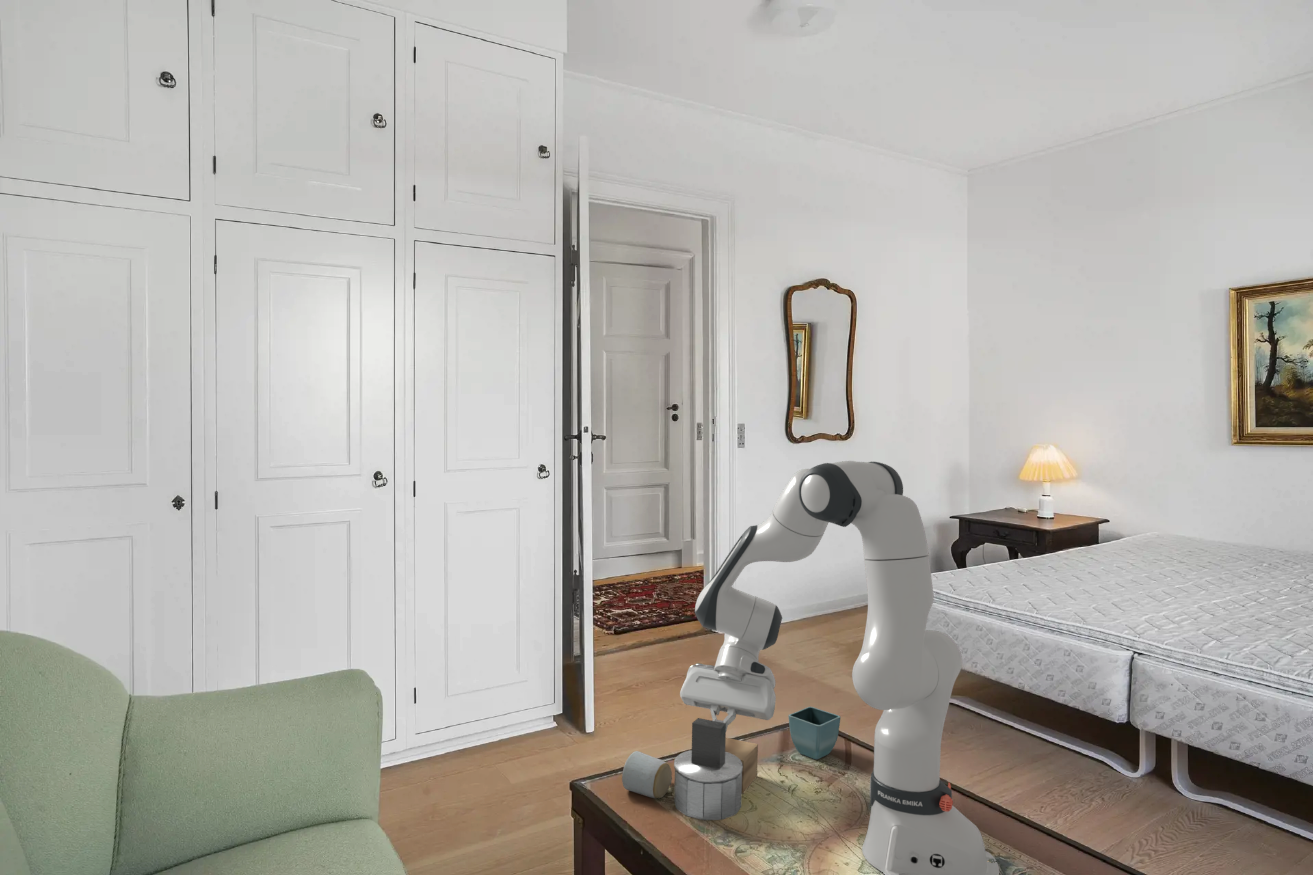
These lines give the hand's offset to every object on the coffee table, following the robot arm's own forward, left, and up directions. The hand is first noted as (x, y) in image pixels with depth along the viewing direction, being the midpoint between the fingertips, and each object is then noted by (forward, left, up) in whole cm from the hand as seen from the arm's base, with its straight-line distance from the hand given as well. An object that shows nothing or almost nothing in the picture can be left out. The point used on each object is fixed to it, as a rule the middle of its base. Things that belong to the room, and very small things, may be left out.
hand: (718, 730), depth 161 cm
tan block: (0, -6, -13) cm, 14 cm away
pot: (0, +6, -13) cm, 14 cm away
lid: (0, +6, -5) cm, 8 cm away
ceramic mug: (+12, +6, -13) cm, 19 cm away
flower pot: (-13, -27, -13) cm, 33 cm away
